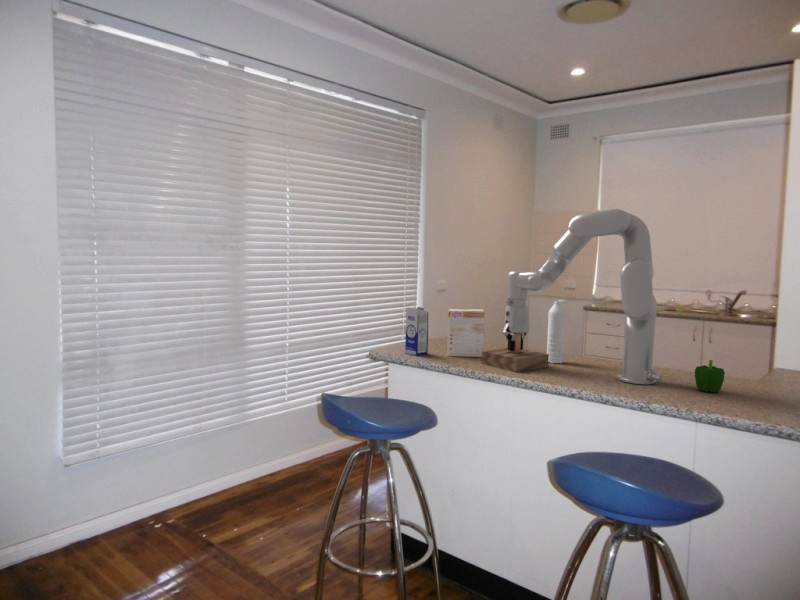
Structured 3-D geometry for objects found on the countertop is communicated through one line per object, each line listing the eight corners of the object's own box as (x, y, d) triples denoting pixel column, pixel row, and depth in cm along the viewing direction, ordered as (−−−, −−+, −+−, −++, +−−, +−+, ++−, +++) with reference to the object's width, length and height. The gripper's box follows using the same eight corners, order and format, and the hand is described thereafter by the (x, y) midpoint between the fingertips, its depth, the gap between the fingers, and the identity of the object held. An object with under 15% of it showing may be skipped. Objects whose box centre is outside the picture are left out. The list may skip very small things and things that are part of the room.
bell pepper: (716, 395, 170) (718, 364, 169) (689, 390, 177) (691, 360, 176) (728, 392, 175) (730, 361, 174) (701, 386, 182) (703, 357, 181)
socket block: (548, 367, 208) (548, 354, 208) (516, 372, 198) (516, 358, 198) (513, 358, 223) (513, 347, 223) (481, 363, 213) (481, 350, 212)
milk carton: (404, 353, 231) (405, 306, 229) (416, 351, 235) (417, 305, 233) (416, 356, 225) (417, 308, 224) (427, 354, 230) (429, 307, 228)
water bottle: (558, 364, 214) (561, 301, 211) (543, 362, 218) (546, 300, 216) (568, 361, 220) (571, 300, 218) (553, 359, 224) (556, 299, 222)
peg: (522, 358, 210) (523, 327, 209) (515, 359, 207) (516, 328, 206) (514, 356, 213) (515, 326, 212) (507, 357, 211) (508, 326, 210)
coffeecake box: (482, 354, 232) (484, 309, 230) (483, 357, 225) (484, 311, 223) (447, 353, 233) (448, 308, 232) (447, 356, 226) (448, 309, 225)
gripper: (509, 304, 200) (507, 353, 202) (538, 303, 210) (537, 349, 212) (494, 303, 207) (492, 350, 208) (524, 301, 216) (522, 346, 218)
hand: (515, 349), depth 210 cm, fingers closed on peg, 3 cm apart
